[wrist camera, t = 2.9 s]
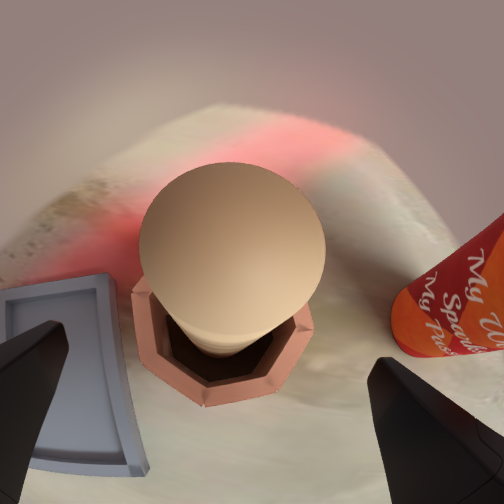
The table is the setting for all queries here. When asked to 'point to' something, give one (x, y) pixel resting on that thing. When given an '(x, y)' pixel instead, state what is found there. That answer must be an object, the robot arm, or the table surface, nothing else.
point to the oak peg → (231, 253)
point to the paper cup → (456, 302)
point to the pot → (223, 391)
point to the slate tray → (81, 378)
